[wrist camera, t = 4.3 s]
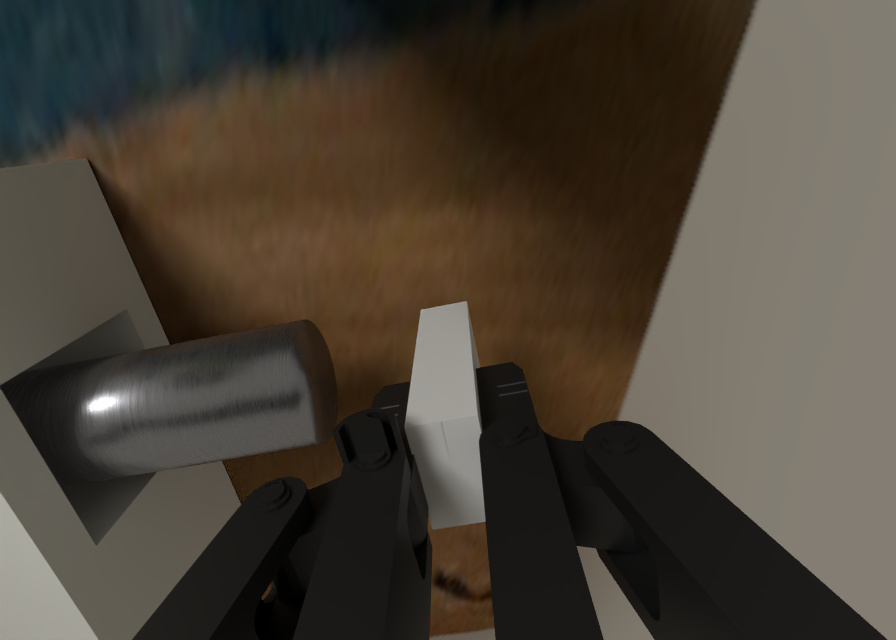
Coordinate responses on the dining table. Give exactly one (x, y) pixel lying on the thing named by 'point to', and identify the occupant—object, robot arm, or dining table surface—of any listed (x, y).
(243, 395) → the axle
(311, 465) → the dining table surface
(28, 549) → the white block with hole
